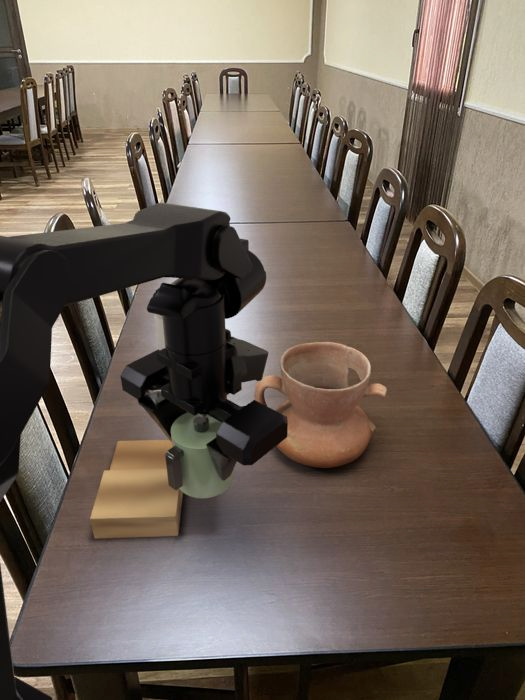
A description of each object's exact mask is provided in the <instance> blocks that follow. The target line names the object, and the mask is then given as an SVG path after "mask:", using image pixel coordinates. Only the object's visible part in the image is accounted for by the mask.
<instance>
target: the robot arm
mask: <svg viewBox="0 0 525 700" xmlns="http://www.w3.org/2000/svg"><path fill="white" fill-rule="evenodd" d="M230 221H231V216H230V215H229V214H228V212H227V211H222V210H216V209H210V208H209V209H208V208H204V207H203V208H202V207H195V206H189V205H182V204H181V205H180V204H175V203H167V202H158V203H155V204H153V205H150V206H147V207H145V208H143V209H140V210H137V211H136V212H135V214H134V216H133V219H131V220H129V221H126V222H123V223H115V224H106V225H105V224H104V225H98V226H89V227H88V226H87V227H79V228H74V229H73V228H72V229H64V230H55V231H46V232H38V233H29V234H21V235H12V236H11V235H10V236H5V235H0V311H1V316H0V503H1V502H2V500H3V498H4V497H5V495H6V494H7V492H8V491H9V489H10V488H11V486H12V485H13V483H14V481H15V480H16V478H17V477H18V476H19V471H20V453H21V438H22V434H23V432H24V429H25V428H26V426H27V425H28V423H29V421H30V419H31V417H32V415H33V414H34V412H35V410H36V409H37V407H38V405H39V403H40V401H41V400H42V399H43V398H42V397H43V396H44V394H45V392H46V391H47V388H48V387H49V383H50V380H51V365H52V362H51V361H52V359H51V358H52V339H53V338H52V336H53V327H54V326H55V324H56V322H57V320H58V318H59V317H60V315H61V313H62V312H63V310H64V308H65V307H66V306H69V305H73V304H77V303H80V302H84V301H87V300H90V299H94V298H98V297H101V296H105V295H107V294H111V293H115V292H118V291H122V290H124V289H128V288H131V287H135V286H138V285H143V284H146V283H149V282H152V281H156V280H160V279H163V278H168V279H169V278H172V279H175V280H174V281H173V282H171V283H167V282H161V283H160V285H159V287H158V288H159V290H158V292H157V293H156V294H155V295H154V296H153V295H152V296H151V297H150V299H149V301H148V303H147V305H146V311H147V313H150V314H153V315H154V314H158V315H162V319H163V329H164V339H165V348H164V349H162V350H159V349H158V348H157V349H156V350H154V351H152V352H150V353H148V354H146V355H144V356H141V357H139V358H138V359H136V360H134V361H132V362H130V363H127V364H126V365H125V367H124V368H123V371H122V372H121V374H120V383H121V389H122V391H123V392H125V393H127V394H128V395H130V396H131V397H133V398H134V399H137V403H138V405H139V406H140V407H142V408H143V409H144V410H145V412H146V413H147V414H148V416H150V418H151V419H152V420H153V421H154V423H155V424H156V425H157V426H158V427H159V429H160V430H161V432H162V433H164V435H165V436H166V437H167V439H168V440H170V441H171V442H172V439H171V427H172V424H173V423H174V421H175V420H176V419H177V418H178V417H180V416H181V415H183V414H185V413H187V412H189V413H191V414H192V415H194V416H195V415H198V416H200V417H205V416H207V415H209V416H211V417H212V418H214V419H216V420H218V421H219V422H221V423H222V424H221V426H220V427H219V429H218V431H217V433H216V438H214V439H213V440H212V441H210V442H209V443H207V444H206V446H207V449H208V451H209V454H210V456H211V458H212V461H213V463H214V466H215V468H216V470H217V473H218V475H219V476H220V478H221V480H223V481H225V480H226V479H227V478H228V477H230V475H231V473H232V471H233V469H235V466H236V464H237V463H239V464H240V465H241V466H243V467H244V466H253V465H254V464H256V463H257V462H258V461H260V460H261V459H262V458H263V457H264V456H266V455H267V454H268V453H269V452H270V451H272V450H273V449H275V448H277V445H278V444H279V443H281V442H282V441H283V440H284V439H286V438H287V432H288V421H287V417H286V416H284V415H282V414H281V413H279V412H277V411H276V409H275V410H274V409H273V408H271V407H269V406H268V405H267V406H265V405H263V404H262V403H260V402H258V401H256V400H255V399H252V401H250V402H249V403H247V404H246V405H242V406H241V405H239V404H237V403H235V402H234V401H232V400H230V399H228V395H229V394H231V395H232V396H235V395H236V394H238V393H239V392H241V391H243V390H242V389H243V385H242V383H247V382H252V381H253V382H254V381H257V382H259V381H261V380H262V378H263V377H264V375H265V374H264V373H265V369H266V365H267V362H268V357H269V351H268V350H266V349H265V348H262V347H259V346H257V345H256V344H253V343H251V342H248V341H247V340H243V339H240V338H237V337H235V336H232V332H231V330H230V329H229V328H228V329H227V328H226V320H229V319H231V318H233V317H235V316H237V315H238V314H240V312H241V311H242V310H243V309H244V308H246V306H248V304H250V303H251V302H252V301H253V300H254V299H255V298H256V297H257V296H258V295H259V294H260V293H261V292H262V291H263V290H264V288H265V285H266V282H267V272H266V270H265V267H264V265H263V263H262V261H261V259H259V257H258V256H257V255H256V254H255V253H254V252H253V251H251V250H250V247H249V246H250V245H249V244H250V243H249V240H248V239H246V238H245V239H244V238H240V236H239V234H238V232H237V230H236V229H235V227H234V226H231V224H230ZM2 573H3V572H2V566H1V563H0V700H53V697H52V696H51V695H49V694H47V693H45V692H43V691H42V690H40V689H38V688H36V687H34V686H33V685H31V684H29V683H27V682H26V681H24V680H22V679H20V678H18V677H17V676H15V671H14V661H13V654H12V647H11V646H12V645H11V639H10V637H11V636H10V630H9V622H8V621H9V620H8V613H7V606H6V597H5V589H4V582H3V574H2Z"/></svg>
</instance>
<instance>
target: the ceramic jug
mask: <svg viewBox="0 0 525 700" xmlns="http://www.w3.org/2000/svg"><path fill="white" fill-rule="evenodd" d="M279 369H280V376H281V377H280V376H277V375H273V374H269V375H265V376H263V378H262V380H261V381H257V383H256V385H255V388H254V400H256V401H258V402H260V403H262V404H263V405H265V406H267V407H268V404H267V402H266V399H265V398H266V397H265V391H266V389H273V390H275V391H278V392H280V393H281V394H283V395H285V396H286V397H287V399H286V400H285V401H283V402H282V403H281V404H279V406H278V407H277V408H276V409H275V411H277V412H279V413H281V414H282V415H284V416H286V417H287V421H288V432H287V438H286V439H284V440H283V441H282V442H281V443H279V444H278V445H277V446H276V448H277V449H278V450H279V451H280V452H281V453H282V454H283V455H284V456H286V457H287V458H288V459H290V460H292V461H294V462H296V463H298V464H301V465H304V466H306V467H310V468H311V467H312V468H319V469H328V468H329V469H330V468H336V467H340V466H344V465H347V464H349V463H352V462H353V461H356V460H357V459H358V458H359V457H361V455H363V453H364V452H365V451H366V449H367V447H368V445H369V443H370V441H371V437H372V436H373V434H374V432H375V431H376V426H375V425H374V423H373V422H372V421H370V420H369V416H367V414H366V412H364V410H363V409H362V408H361V407H360V406H359V405H358V404H359V402H361V400H363V399H364V398H366V397H371V396H379V397H381V398H385V397H386V394H387V390H388V389H387V387H386V386H385V385H383V384H381V383H370V384H369V382H370V379H371V376H372V375H371V373H372V372H371V371H372V367H371V363H370V360H369V359H368V358H367V356H366V355H365V354H363V352H361V351H359V350H357V349H355V348H354V347H351V346H348V345H345V344H342V343H338V342H331V341H322V342H318V341H313V342H306V343H300V344H297V345H294V346H292V347H289V348H288V349H286V350H285V351H284V352H283V354H282V355H281V357H280V360H279ZM350 369H351V370H353V371H355V373H356V374H357V375H358V378H359V380H360V382H358V383H356V384H353V385H350V386H349V375H350Z"/></svg>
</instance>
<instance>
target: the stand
mask: <svg viewBox="0 0 525 700" xmlns="http://www.w3.org/2000/svg"><path fill="white" fill-rule="evenodd" d="M171 448H172V442H171V441H170V440H169V439H147V440H146V439H145V440H143V439H142V440H139V439H138V440H118V441H117V443H116V446H115V449H114V453H113V457H112V460H111V463H110V467H109V469H104V470H103V473H102V476H101V480H100V483H99V486H98V490H97V494H96V497H95V500H94V503H93V506H92V510H91V514H90V518H89V520H90V524H91V525H90V526H91V529H92V533H93V538H94V539H122V538H124V539H125V538H157V537H178V536H179V532H180V531H179V530H180V523H181V514H182V507H183V506H182V505H183V495H184V493H183V492H182V491H181V490H180V489H178V490H174V489H173V488H172V487H170V486H169V484H168V476H167V467H166V459H165V454H166V451H168V450H169V449H171Z"/></svg>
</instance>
